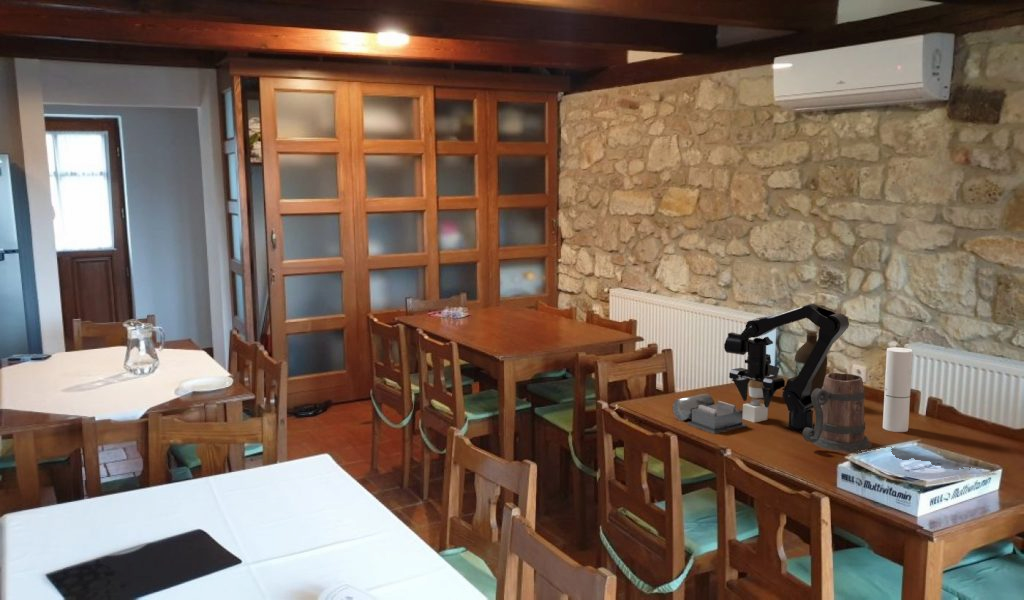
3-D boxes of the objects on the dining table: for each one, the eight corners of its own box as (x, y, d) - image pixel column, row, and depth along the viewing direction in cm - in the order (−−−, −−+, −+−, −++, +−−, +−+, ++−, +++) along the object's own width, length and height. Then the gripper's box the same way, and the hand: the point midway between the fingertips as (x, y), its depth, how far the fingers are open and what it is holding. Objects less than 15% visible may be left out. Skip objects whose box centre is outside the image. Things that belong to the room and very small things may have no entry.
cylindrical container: (902, 425, 253) (907, 347, 249) (911, 432, 246) (916, 352, 242) (879, 424, 254) (883, 347, 250) (887, 431, 247) (891, 352, 243)
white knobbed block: (767, 419, 262) (767, 400, 261) (754, 422, 259) (754, 403, 258) (755, 416, 266) (756, 396, 265) (742, 419, 263) (743, 399, 262)
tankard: (836, 430, 250) (839, 367, 247) (884, 445, 235) (888, 378, 232) (782, 443, 239) (784, 377, 236) (828, 459, 224) (831, 390, 221)
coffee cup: (773, 398, 285) (774, 357, 283) (749, 399, 285) (750, 357, 283) (766, 392, 294) (767, 352, 291) (742, 393, 294) (743, 352, 292)
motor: (746, 426, 255) (747, 404, 254) (714, 434, 248) (714, 412, 247) (701, 411, 272) (702, 391, 271) (670, 418, 265) (670, 397, 264)
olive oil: (808, 395, 288) (810, 327, 285) (832, 402, 279) (835, 332, 275) (786, 400, 283) (788, 330, 280) (810, 407, 274) (813, 335, 270)
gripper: (797, 358, 255) (795, 406, 258) (752, 349, 271) (751, 394, 273) (772, 363, 250) (771, 412, 252) (728, 353, 266) (727, 399, 268)
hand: (755, 403), depth 261 cm, fingers open, 9 cm apart
